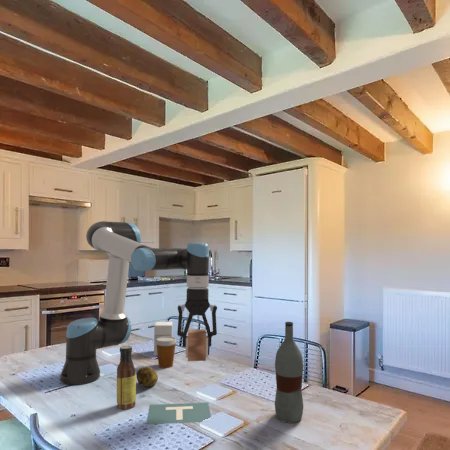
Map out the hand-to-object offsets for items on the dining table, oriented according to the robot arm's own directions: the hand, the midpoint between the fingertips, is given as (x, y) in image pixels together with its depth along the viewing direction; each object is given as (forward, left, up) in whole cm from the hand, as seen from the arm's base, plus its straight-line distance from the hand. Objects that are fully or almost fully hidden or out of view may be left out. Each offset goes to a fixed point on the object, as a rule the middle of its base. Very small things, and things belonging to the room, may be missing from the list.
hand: (196, 356), depth 127 cm
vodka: (+29, -10, -17) cm, 36 cm away
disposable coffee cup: (-12, +45, -17) cm, 50 cm away
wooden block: (0, 0, -1) cm, 1 cm away
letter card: (-6, -4, -17) cm, 18 cm away
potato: (-18, +21, -17) cm, 33 cm away
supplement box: (-14, +65, -17) cm, 69 cm away
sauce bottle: (-24, +3, -17) cm, 29 cm away
